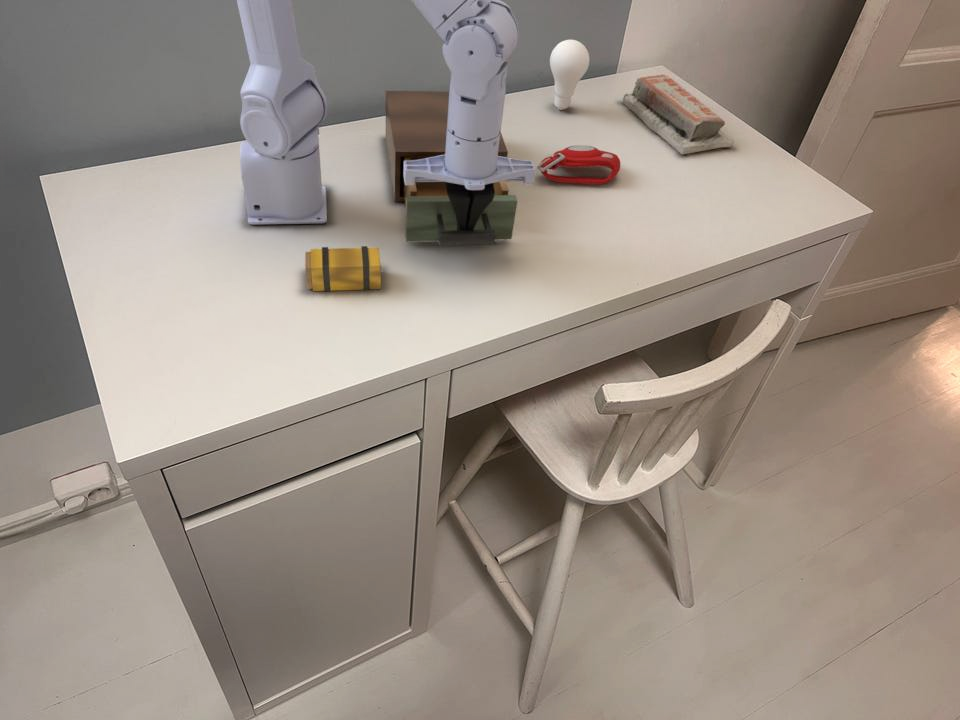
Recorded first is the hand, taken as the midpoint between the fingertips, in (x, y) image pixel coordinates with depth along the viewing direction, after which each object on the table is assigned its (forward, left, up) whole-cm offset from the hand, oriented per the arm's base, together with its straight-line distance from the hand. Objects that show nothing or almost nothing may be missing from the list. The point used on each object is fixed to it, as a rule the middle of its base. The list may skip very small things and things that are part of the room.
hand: (463, 233), depth 86 cm
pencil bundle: (-14, -4, -3) cm, 15 cm away
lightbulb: (+22, +38, -4) cm, 44 cm away
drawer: (0, +7, -3) cm, 8 cm away
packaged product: (+40, +33, -4) cm, 52 cm away
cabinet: (0, +20, -3) cm, 20 cm away
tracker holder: (+19, +19, -4) cm, 27 cm away
